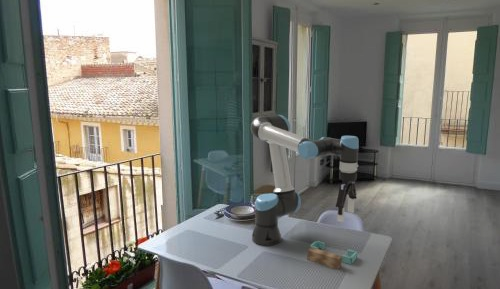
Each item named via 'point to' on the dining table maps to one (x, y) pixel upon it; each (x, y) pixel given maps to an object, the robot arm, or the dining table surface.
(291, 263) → the dining table surface
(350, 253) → the pair of teal brackets
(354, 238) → the dining table surface
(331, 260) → the batten
